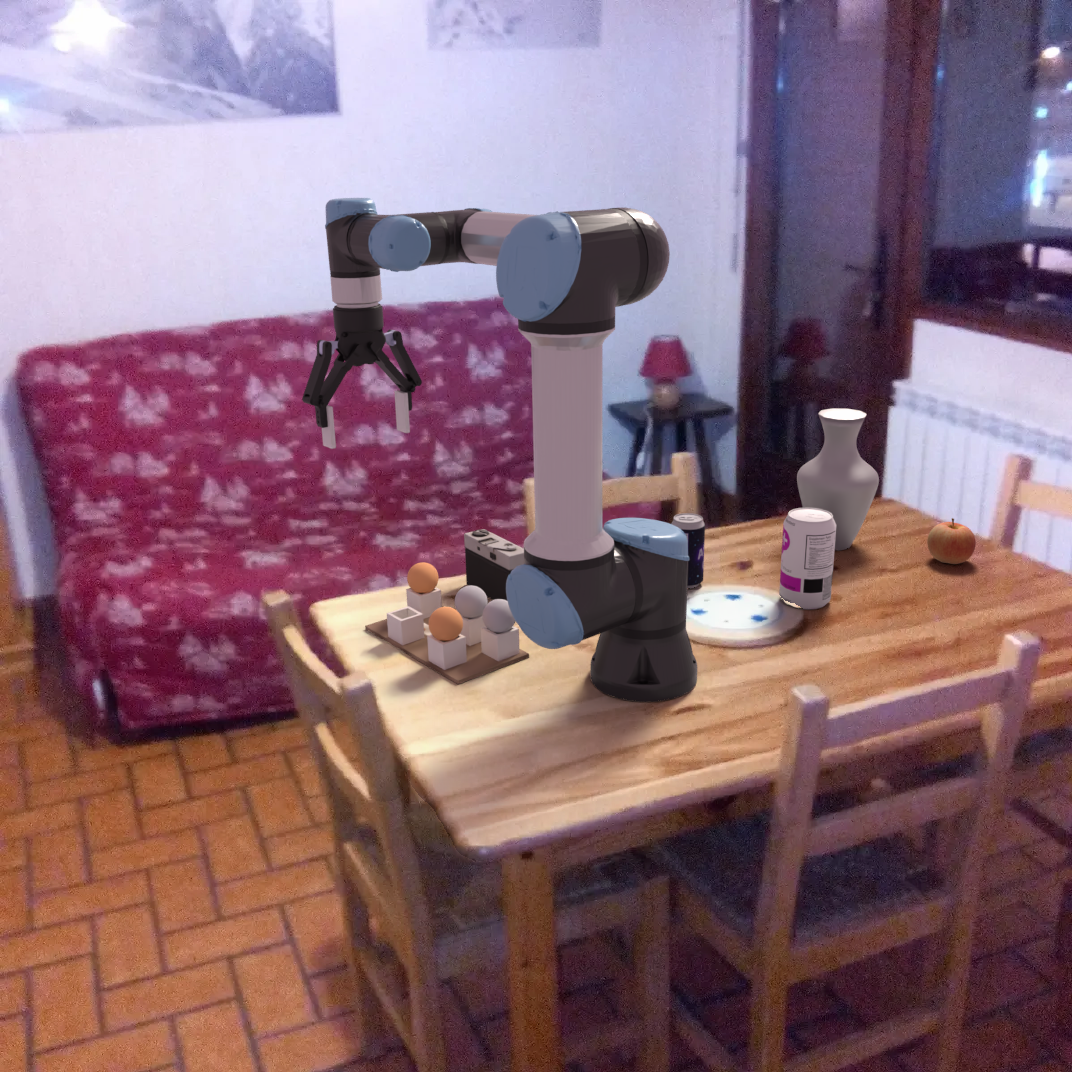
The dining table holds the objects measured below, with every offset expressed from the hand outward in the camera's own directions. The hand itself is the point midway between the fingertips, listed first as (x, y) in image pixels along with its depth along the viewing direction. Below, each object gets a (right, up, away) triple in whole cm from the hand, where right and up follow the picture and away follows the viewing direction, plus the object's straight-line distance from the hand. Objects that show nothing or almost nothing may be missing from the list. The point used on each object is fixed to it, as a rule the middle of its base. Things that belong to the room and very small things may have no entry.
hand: (367, 439), depth 179 cm
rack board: (+13, -32, -6) cm, 35 cm away
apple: (+100, -20, +21) cm, 104 cm away
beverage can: (+53, -24, +14) cm, 59 cm away
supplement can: (+71, -26, +6) cm, 76 cm away
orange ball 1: (+9, -24, +2) cm, 26 cm away
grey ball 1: (+17, -28, -7) cm, 33 cm away
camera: (+22, -25, +12) cm, 35 cm away
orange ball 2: (+14, -30, -15) cm, 37 cm away
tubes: (+13, -32, -6) cm, 35 cm away
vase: (+82, -17, +31) cm, 89 cm away
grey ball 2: (+21, -29, -12) cm, 39 cm away
